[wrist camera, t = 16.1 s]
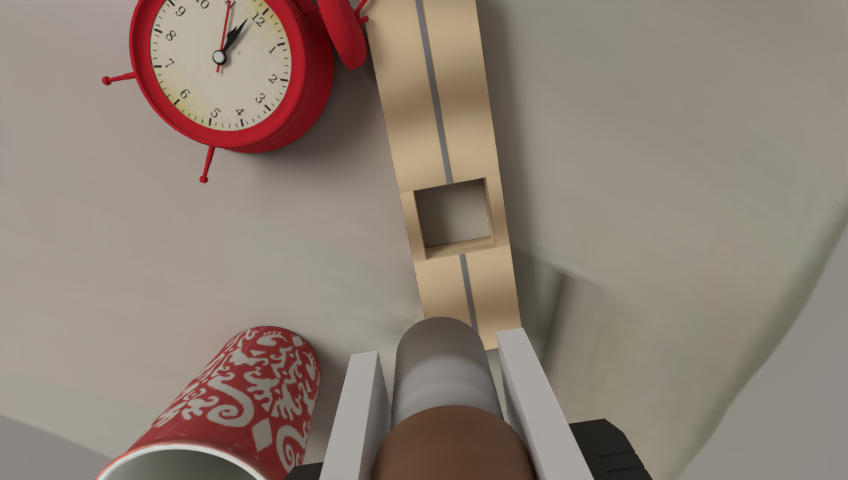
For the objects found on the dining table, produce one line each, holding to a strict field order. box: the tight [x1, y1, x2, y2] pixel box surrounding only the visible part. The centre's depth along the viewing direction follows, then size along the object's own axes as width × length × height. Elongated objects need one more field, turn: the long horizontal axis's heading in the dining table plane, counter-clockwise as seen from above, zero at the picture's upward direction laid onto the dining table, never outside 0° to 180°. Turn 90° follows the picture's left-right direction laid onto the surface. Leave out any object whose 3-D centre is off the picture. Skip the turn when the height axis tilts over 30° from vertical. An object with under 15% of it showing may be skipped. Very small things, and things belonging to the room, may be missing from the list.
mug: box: [96, 326, 321, 480], centre depth 29 cm, size 13×9×14 cm
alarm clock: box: [102, 0, 369, 183], centre depth 26 cm, size 10×6×15 cm
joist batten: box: [362, 0, 522, 350], centre depth 30 cm, size 22×6×3 cm, turn 10°
